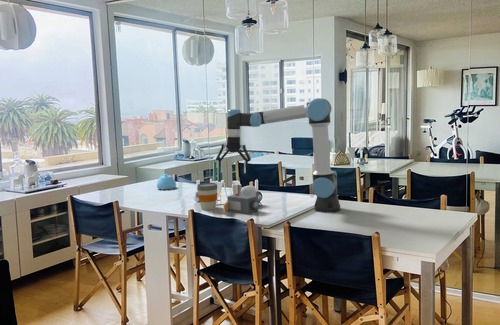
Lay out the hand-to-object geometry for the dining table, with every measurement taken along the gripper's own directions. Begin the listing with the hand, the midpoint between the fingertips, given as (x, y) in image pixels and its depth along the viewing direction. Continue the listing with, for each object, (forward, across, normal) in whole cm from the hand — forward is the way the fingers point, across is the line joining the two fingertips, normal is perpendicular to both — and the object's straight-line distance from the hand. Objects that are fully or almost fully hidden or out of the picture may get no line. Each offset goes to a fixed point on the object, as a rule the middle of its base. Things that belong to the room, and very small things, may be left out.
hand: (233, 172), depth 274 cm
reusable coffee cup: (+26, +17, -13) cm, 34 cm away
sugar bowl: (+29, +64, -85) cm, 111 cm away
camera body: (+24, -6, -4) cm, 25 cm away
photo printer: (+24, -7, -20) cm, 32 cm away
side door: (+24, +4, +1) cm, 24 cm away
